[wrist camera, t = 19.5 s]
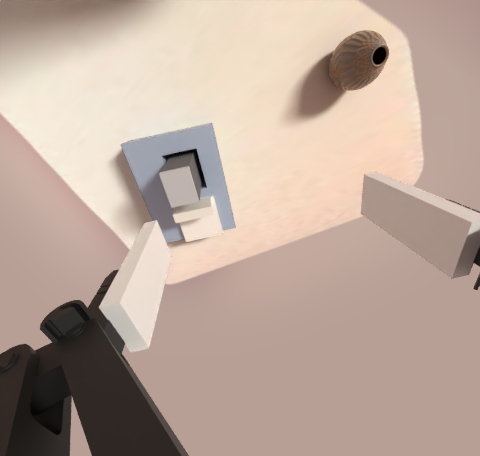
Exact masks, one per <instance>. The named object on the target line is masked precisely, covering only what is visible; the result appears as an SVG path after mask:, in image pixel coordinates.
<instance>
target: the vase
mask: <svg viewBox="0 0 480 456" xmlns="http://www.w3.org/2000/svg"><path fill="white" fill-rule="evenodd" d="M388 56H389V49H388V47H387V45H386V42H385V40H384V38H383V37H382V36H381V35H380V34H378V33H377V32H374V31H368V30H364V31H359V32H356V33H354V34H352V35H350V36H348V37H347V38H345V39H344V40H343V41H342V42H341V43H340V44H339V45H338V46H337V48H336V49H335V51H334V53H333V54H332V57H331V60H330V64H329V74H330V78H331V80H332V82H333V83H334V84H335V85H336V86H337V87H338V88H340V89H343V90H358V89H361V88H363V87H365V86H367V85H368V84H370V83H371V82H372V81H374V80H375V79H376V78H377V77H378V75H379V74H380V73H381V71H382V69H383V68H384V65H385V63H386V61H387V59H388Z"/></svg>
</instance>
